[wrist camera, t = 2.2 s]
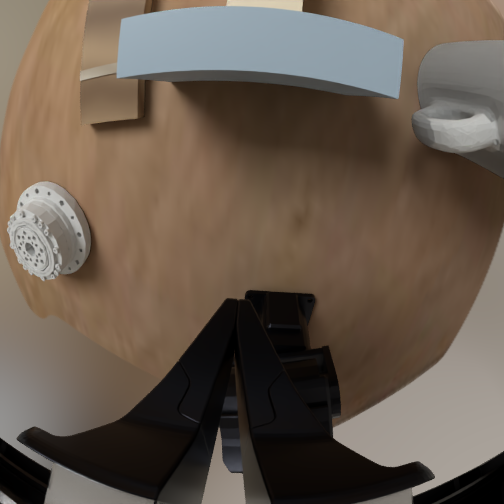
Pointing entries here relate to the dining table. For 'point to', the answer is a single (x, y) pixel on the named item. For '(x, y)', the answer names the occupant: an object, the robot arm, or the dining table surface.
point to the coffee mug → (463, 101)
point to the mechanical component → (49, 231)
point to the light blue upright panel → (261, 48)
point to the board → (108, 64)
